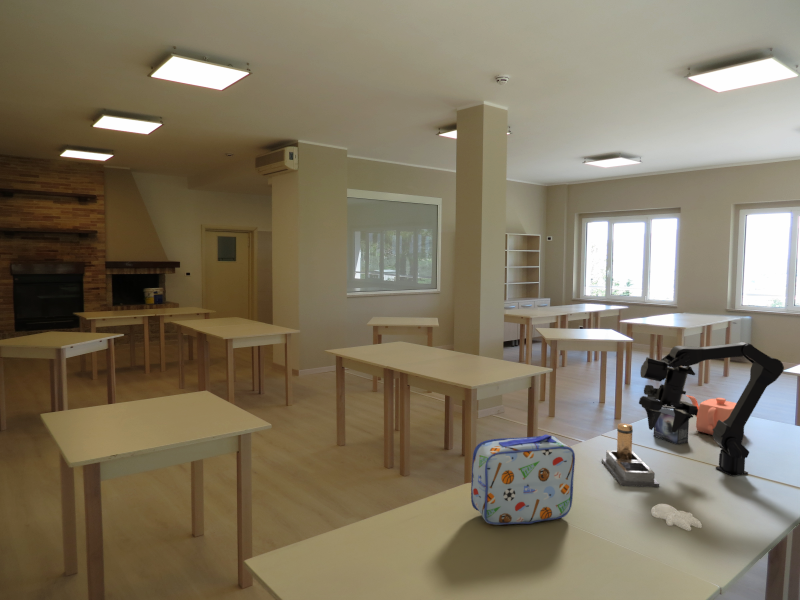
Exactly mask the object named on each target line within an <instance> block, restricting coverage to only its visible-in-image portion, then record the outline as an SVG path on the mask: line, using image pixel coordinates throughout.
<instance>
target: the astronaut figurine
mask: <svg viewBox="0 0 800 600" xmlns="http://www.w3.org/2000/svg"><path fill="white" fill-rule="evenodd" d="M650 513H651V516H652V517H654V518H657V519H663V520H665V523H666V524H667V526H670V527H671V526H677V527H679V528H681V529H682V530H686V531H689V532H690V531H692V527H691V526H693V527H695V528H699V529H701V528H703V526H702V525H703V524H702V522H701V521H700V520H699V519H698V518H697V517H694V516H693V513H691V512H689V511H688V512H686V511H684V510H677V509H676V507H673V505H670V504H667V503H658V504H656V505H654V506H652V507H651V511H650Z"/></svg>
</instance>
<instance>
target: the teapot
mask: <svg viewBox="0 0 800 600" xmlns="http://www.w3.org/2000/svg"><path fill="white" fill-rule="evenodd" d="M685 396H686V397H688V399H690V402H691V404H692V405H694V406H697V408H698V413H697V416H696V415H694V416H695V417H696V422H695V425H696V426H695V427H696V431H698V432H700V433H704V434H708V435H712V436H713V432H714V431H713V430H712V429H714V428H715V426H716V424H717V421H718V420H720V421H722V422H723V421H725V420H726V419H728V418H729V416H730V414H731V412H732V411H733V409H734V407H735V405H736V403H737V402H734V401H733V402H732V401H729V400H727V399H726V398H724V397H715V398H708V399H706V400H704V401H701V402H700V403H698V400H697V399H696V397H695V396H692V395H688V394H685Z"/></svg>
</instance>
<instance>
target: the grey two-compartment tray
mask: <svg viewBox="0 0 800 600" xmlns="http://www.w3.org/2000/svg"><path fill="white" fill-rule="evenodd" d="M601 462H602V464H603V465H604V466H605V467H606V469H607V470H608V472H609V473H611V475H612V476H613V477H614V479H615V480H616V481H617V482H618V484H619V485H620V486H621V487H643V488H644V487H646V488H648V487H649V488H660V483H659V482H658V481H657V479H655V472H654V471H653V469H651V468H650V466H648V465H647V464H646V463H645V461H643V459H642V458H640V457H639V455H637V454H636V453H635V451H633V450H632V460H625V459H617V450H606V455H605V458H604V457H602V458H601Z"/></svg>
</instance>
